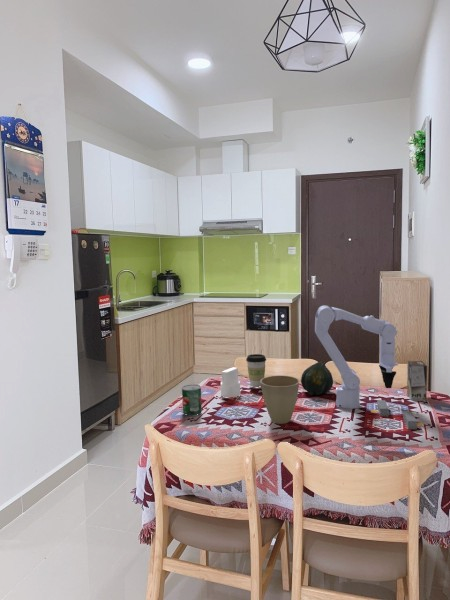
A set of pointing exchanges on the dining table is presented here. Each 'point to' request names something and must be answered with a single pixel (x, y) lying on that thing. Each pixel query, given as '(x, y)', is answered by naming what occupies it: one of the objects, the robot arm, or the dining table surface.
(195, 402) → the canned tomato
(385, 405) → the slider back
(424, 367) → the coffee box
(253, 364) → the coffee cup
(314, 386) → the squash
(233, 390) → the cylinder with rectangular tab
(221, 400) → the dining table surface
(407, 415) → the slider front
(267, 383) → the plant pot
